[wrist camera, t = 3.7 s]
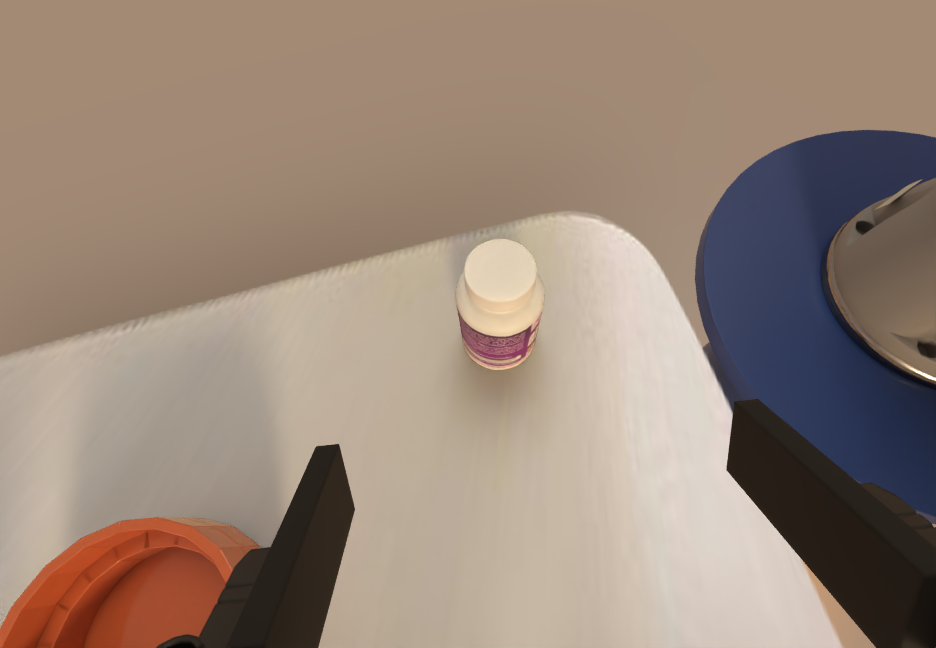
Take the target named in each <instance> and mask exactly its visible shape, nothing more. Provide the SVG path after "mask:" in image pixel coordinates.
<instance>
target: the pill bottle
mask: <svg viewBox="0 0 936 648" xmlns="http://www.w3.org/2000/svg"><path fill="white" fill-rule="evenodd" d="M544 296H545V295H544V286H543V283H542V280H541V278H540V276H539V274H538V273H537V266H536V262H535V259H534V257H533V256H532V254H531V253H530V251H529V250H527V248H525V247H524V246H523V245H521V244H519V243H517V242H515V241H512V240H507V239H493V240H489V241H486V242H484V243H482V244H480V245H478V246H477V247H476V248H474V249H473V250H472V251H471V253H470V254H469V256H468V257H467V259H466V262H465V265H464V272H463V273H462V275H461V276H460V278H459V281H458V283H457V287H456V304H457V310H458V315H459V320H460V327H461V333H462V339H463V344H464V347H465V350H466V352H467V353H468V355H469V356H470V357H471V358H472V359H473V360H474V361H475V362H476V363H478V364H479V365H481V366H483V367H486V368H488V369H493V370H505V369H509V368H513V367H516V366H517V365H519V364H520V363H522V362H523V361H524V360H525V359H526V358H527V357H528V356H529V354H530V353H531V351H532V349H533V347H534V344H535V340H536V336H537V332H538V327H539V323H540V318H541V314H542V309H543V305H544Z"/></svg>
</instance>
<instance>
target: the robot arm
mask: <svg viewBox="0 0 936 648" xmlns="http://www.w3.org/2000/svg"><path fill="white" fill-rule="evenodd" d="M921 180H922V179H921ZM921 180H919V181H917V182H914V183H912V184H910V185H908V186H906V187H905V188H903V189H902V190H901V191H899V192H898V193H897V194H895V195H893V196H890V197H888V198H885V199H883V200H881V201H878V202H876V203H874V204H872V205H871V206H869V207H867V208H866V209H864V210H862V211H861V212H859V213H857V214H856V215H855V216H854V217H852V218H851V219H850V220H849V221H848V222H847V223H845V224H844V225H843V226H842V227H841V228H840V229H839V230H838V231H837V232H836V233H835V234H834V235H833V236H832V238H831V239H830V240H829V242H828V244H827V246H826V248H825V251H824V253H823V257H822V262H821V280H822V287H823V290H824V294H825V297H826V300H827V302H828V305H829V307H830V309H831V311H832V313H833V315H834V316H835V318H836V319H837V321H838V323H839V324H840V325H841V327H842V328H843V329H844V331H845V332H846V333H847V334H848V335H849V337H850V338H851V339H852V340H853V341H854V342H855V343H856V344H857V345H858V346H859V347H860V348H861V349H862V350H863V351H865V352H866V353H867V354H868V355H869V356H871V357H872V358H873V359H875V360H876V361H877V362H879V363H880V364H881V365H883V366H885V367H886V368H888V369H889V370H891V371H893V372H894V373H896V374H898V375H900V376H902V377H904V378H906V379H908V380H910V381H913V382H915V383H917V384H920V385H923V386H925V387H928V388H932V389H935V390H936V178H934V179H931V180H929V181H926V182H924V183H922V184H919V185H917V186H914V185H916V184H917V183H918V182H920V181H921ZM913 186H914V187H913ZM911 187H912V188H911ZM727 471H728V472H729V473H730V475H731V476H732V477H733V478H734V479H735V481H736V482H737V483H738V484H739V485H740V487H741V488H742V489H743V490H744V491H745V492H746V494H747V495H748V496H749V497H750V498H751V500H752V501H753V502H754V503H755V504H756V506H757V507H758V508H759V509H760V510H761V511H762V513H763V514H764V515H765V516H766V517H767V519H768V520H769V521H770V522H771V523H772V525H773V526H774V527H775V528H776V529H777V530H778V532H779V533H780V534H781V535H782V536H783V538H784V539H785V540H786V541H787V542H788V543H789V545H790V546H791V547H792V548H793V549H794V551H795V552H796V553H797V554H798V555H799V557H800V558H801V559H802V560H803V561H804V562H805V564H806V565H807V566H808V567H809V568H810V570H811V571H812V572H813V573H814V574H815V576H817V578H818V579H819V580H820V581H821V583H822V584H823V585H824V586H825V587H826V589H827V590H828V591H829V592H830V593H831V595H832V596H833V597H834V598H835V599H836V600H837V602H838V603H839V604H840V605H841V606H842V608H843V609H844V610H845V611H846V612H847V614H848V615H849V616H850V617H851V618H852V619H853V620H854V622H855V623H856V624H857V625H858V627H859V628H860V629H861V630H862V631H863V632H864V634H865V635H866V636H867V637H868V638H869V640H870V641H871V642H872V643H873V644H874V646H875V647H876V648H936V527H935V528H934V527H933V526H932V523H930V522H929V521H928V520H926V519H925V518H924V517H923V516H921V515H920V514H917V513H916V511H915V510H914V509H913V508H911V507H910V506H909V505H908V504H906V503H905V502H904V501H902V500H901V499H900V498H899V497H897V496H896V495H894V494H892V493H890V492H888V491H886V490H884V489H883V488H881V487H879V486H877V485H875V484H873V483H864V484H859V483H858V482H856V481H855V480H854V479H853V478H852V477H850V476H849V475H848V474H847V473H846V472H844V471H843V470H842V469H841V468H840V467H838V466H837V465H836V464H835V463H834V462H832V461H831V460H830V459H829V458H828V457H826V456H825V455H824V454H823V453H822V452H820V451H819V450H818V449H817V448H816V447H814V446H813V445H812V444H811V443H810V442H808V441H807V440H806V439H805V438H804V437H802V436H801V435H800V434H799V433H798V432H796V431H795V430H794V429H793V428H792V427H790V426H789V425H788V424H787V423H786V422H784V421H783V420H782V419H781V418H780V417H779V416H777V415H776V414H775V413H774V412H773V411H771V410H770V409H769V408H768V407H767V406H765V405H764V404H763V403H762V402H761V401H759V400H758V399H755V400H746V401H737V402H734V411H733V419H732V427H731V436H730V444H729V453H728V461H727ZM354 511H355V508H354V503H353V499H352V495H351V491H350V487H349V483H348V479H347V475H346V471H345V467H344V462H343V458H342V454H341V450H340V446H339V444H335V445H326V446H316V448H315V450H314V452H313V455H312V457H311V459H310V461H309V463H308V466H307V468H306V470H305V472H304V475H303V477H302V479H301V481H300V483H299V486H298V488H297V490H296V492H295V495H294V497H293V499H292V501H291V503H290V506H289V508H288V510H287V512H286V515H285V517H284V519H283V521H282V524H281V526H280V528H279V530H278V532H277V535H276V537H275V539H274V541H273V544H272V546H271V547H269V548H259V549H251V550H250V551H249V552H248V553H247V554H246V555H245V556H244V557H243V558H242V559H241V560H240V561H239V562H238V563H237V564H236V566H235V567H234V569H233V571H232V573H231V575H230V577H229V579H228V581H227V582H226V584H225V588H224V589H223V590H222V592H221V594H220V596H219V598H218V600H217V601H218V602H217V604H215V606H214V608H213V610H212V612H211V614H210V616H209V617H208V619H207V621H206V623H205V625H204V627H203V629H202V631H201V633H200V635H199V637H198V636H194V635H189V634H186V635H181V636H176V637H173V638H171V639H169V640H167V641H165V642H163V643H161V644H160V645H158V646H157V647H156V648H318V646H319V643H320V639H321V635H322V631H323V627H324V624H325V620H326V616H327V612H328V609H329V605H330V601H331V597H332V594H333V590H334V586H335V582H336V579H337V575H338V571H339V567H340V564H341V560H342V556H343V552H344V548H345V545H346V541H347V537H348V533H349V530H350V526H351V522H352V518H353V515H354Z"/></svg>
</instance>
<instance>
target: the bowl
mask: <svg viewBox="0 0 936 648" xmlns="http://www.w3.org/2000/svg"><path fill="white" fill-rule="evenodd" d="M259 548H260V547H259V546H258V545H257V544H256V543H255V542H253V541H252V540H251V539H249V538H248V537H247V536H246V535H244V534H243V533H242V532H240V531H239V530H238V529H236V528H235V527H232V526H230V525H226V524H222V523H219V522H215V521H211V520H207V519H202V518H167V517H154V518H145V519H135V520H125V521H121V522H117V523H115V524H113V525H110V526H108V527H106V528H103V529H101V530H99V531H96V532H94V533H92V534H89V535H87V536H85V537H83V538H81V539H79V540H78V541H77V542H76V543H74V544H73V545H72V546H70V547H69V548H68V549H67V550H65V551H64V552H63V553H61V554H60V555H59V556H57V557H56V558H55V559H54V560H52V561H51V562H50V563H48V564H47V565H46V566H45V567H44V568H43V569H42V570H41V572H40V573H39V574H38V575H37V576H36V578H35V579H34V580H33V581H32V582H31V584H30V585H29V586H28V587H27V588H26V590H25V591H24V592H23V593H22V595H21V596H20V597H19V598H18V599H17V601H16V602H15V603H14V604H13V606H12V607H11V609H10V611H9V613H8V615H7V616H6V618H5V620H4V622H3V624H2V626H1V628H0V648H156V647H157V646H158V645H160V644H161V643H163V642H165V641H167V640H169V639H171V638H173V637H176V636H181V635H186V634H189V635H194V636H198V637H199V635H200V633H201V631H202V629H203V627H204V625H205V623H206V621H207V619H208V617H209V616H210V614H211V612H212V610H213V608H214V606H215V604H217V602H218V601H217V600H218V598H219V596H220V594H221V592H222V590H223V589H224V588H225V584H226V582H227V581H228V579H229V577H230V575H231V573H232V571H233V569H234V567H235V566H236V564H237V563H238V562H239V561H240V560H241V559H242V558H243V557H244V556H245V555H246V554H247V553H248V552H249V551H250V550H251V549H259Z"/></svg>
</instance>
